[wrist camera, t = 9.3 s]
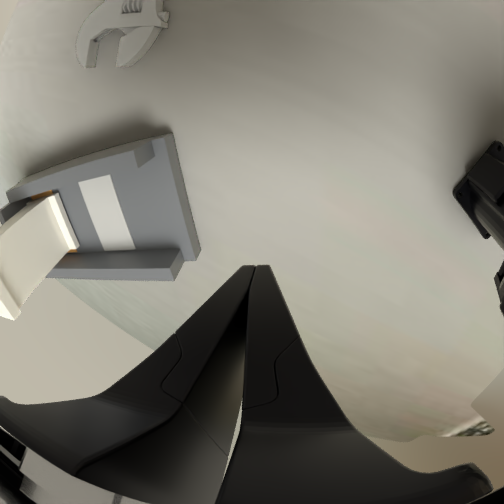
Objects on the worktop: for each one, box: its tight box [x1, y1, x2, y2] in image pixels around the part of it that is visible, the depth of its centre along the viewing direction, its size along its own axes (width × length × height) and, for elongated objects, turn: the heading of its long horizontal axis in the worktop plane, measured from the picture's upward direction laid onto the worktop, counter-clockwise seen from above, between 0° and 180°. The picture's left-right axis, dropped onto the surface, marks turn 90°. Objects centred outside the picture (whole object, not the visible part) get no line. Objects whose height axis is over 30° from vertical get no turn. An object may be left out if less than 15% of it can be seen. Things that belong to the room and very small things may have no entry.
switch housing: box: [0, 133, 201, 281], centre depth 20 cm, size 18×10×6 cm, turn 98°
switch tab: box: [0, 193, 80, 320], centre depth 18 cm, size 5×6×10 cm
